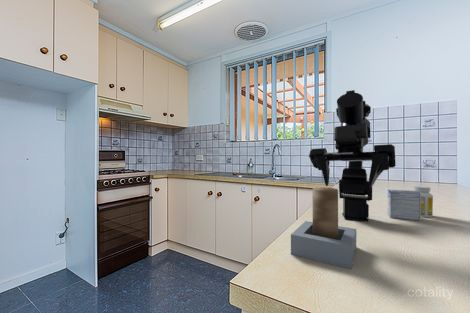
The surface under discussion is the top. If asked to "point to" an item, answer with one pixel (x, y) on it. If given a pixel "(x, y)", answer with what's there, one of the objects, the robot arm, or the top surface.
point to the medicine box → (404, 204)
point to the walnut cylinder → (325, 212)
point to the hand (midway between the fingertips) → (347, 185)
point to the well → (324, 245)
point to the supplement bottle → (425, 201)
